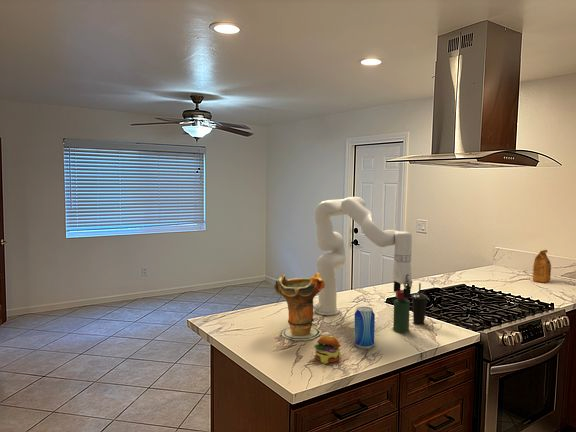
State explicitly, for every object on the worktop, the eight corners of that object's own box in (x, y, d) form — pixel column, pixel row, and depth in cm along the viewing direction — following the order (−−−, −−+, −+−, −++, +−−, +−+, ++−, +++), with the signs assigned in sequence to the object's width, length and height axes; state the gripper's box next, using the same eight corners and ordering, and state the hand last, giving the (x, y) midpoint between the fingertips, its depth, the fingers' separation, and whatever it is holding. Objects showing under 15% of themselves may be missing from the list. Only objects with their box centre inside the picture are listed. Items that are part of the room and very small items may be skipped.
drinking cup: (418, 326, 198) (419, 286, 197) (407, 322, 205) (408, 282, 203) (430, 324, 202) (431, 284, 200) (418, 319, 208) (419, 280, 207)
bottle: (397, 333, 190) (398, 294, 188) (390, 328, 197) (391, 291, 195) (411, 332, 191) (412, 294, 190) (404, 327, 198) (405, 290, 197)
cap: (399, 299, 189) (399, 293, 189) (394, 296, 195) (394, 290, 194) (410, 298, 191) (410, 292, 190) (404, 295, 196) (404, 289, 196)
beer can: (352, 342, 179) (352, 306, 178) (371, 341, 180) (371, 305, 179) (356, 349, 171) (357, 312, 170) (376, 349, 172) (377, 311, 170)
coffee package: (553, 281, 289) (554, 250, 287) (545, 284, 281) (547, 252, 280) (537, 278, 297) (539, 248, 295) (530, 281, 289) (531, 250, 287)
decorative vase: (275, 325, 200) (275, 268, 198) (323, 326, 199) (323, 268, 197) (272, 342, 179) (272, 278, 177) (325, 342, 179) (326, 279, 176)
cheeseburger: (310, 362, 159) (312, 335, 161) (318, 358, 169) (319, 332, 170) (336, 365, 155) (337, 338, 157) (342, 361, 165) (343, 335, 167)
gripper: (387, 255, 199) (386, 290, 200) (404, 262, 182) (403, 300, 183) (401, 254, 200) (400, 289, 202) (419, 261, 183) (418, 299, 185)
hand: (401, 294), depth 193 cm, fingers open, 9 cm apart
